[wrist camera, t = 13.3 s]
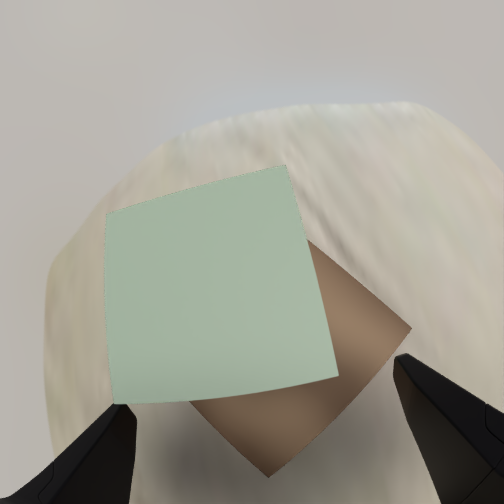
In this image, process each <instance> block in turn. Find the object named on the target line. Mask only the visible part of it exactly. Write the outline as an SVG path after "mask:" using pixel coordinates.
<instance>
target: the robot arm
mask: <svg viewBox="0 0 504 504" xmlns="http://www.w3.org/2000/svg"><path fill="white" fill-rule="evenodd" d="M393 378H394V382H395V385H396V388H397V391H398V394H399V397H400V401H401V404H402V407H403V410H404V413H405V417H406V419H407V422H408V424H409V427H410V429H411V431H412V433H413V436H414V438H415V440H416V443H417V445H418V447H419V450H420V452H421V454H422V457H423V459H424V461H425V464H426V466H427V469H428V471H429V474H430V476H431V479H432V481H433V484H434V486H435V489H436V491H437V494H438V497H439V499H440V502H441V504H504V413H502V412H500V411H499V410H497V409H495V408H494V407H492V406H491V405H489V404H486V403H485V402H484V401H482V400H481V399H479V398H478V397H476V396H474V395H473V394H471V393H470V392H468V391H467V390H465V389H463V388H462V387H460V386H459V385H457V384H455V383H454V382H452V381H451V380H449V379H448V378H446V377H444V376H443V375H441V374H440V373H438V372H436V371H435V370H433V369H432V368H430V367H429V366H427V365H425V364H424V363H422V362H421V361H419V360H417V359H416V358H414V357H413V356H411V355H410V354H407V353H404V354H401V355H398V356H396V357H395V359H394V369H393ZM136 432H137V419H136V416H135V415H134V413H133V412H132V411H131V409H130V408H129V407H128V405H127V404H114V403H113V404H112V405H111V406H110V407H109V408H108V409H107V410H106V411H105V412H104V413H103V414H102V415H101V416H100V417H99V418H98V419H97V420H95V421H94V422H93V423H92V424H91V425H90V426H89V427H88V428H87V429H86V430H85V431H84V432H83V433H82V434H81V435H80V436H79V437H78V438H77V439H76V440H75V441H74V442H73V443H72V444H70V445H69V446H68V447H67V448H66V449H65V450H64V451H63V452H62V453H61V454H60V455H59V456H58V457H57V458H56V459H55V460H54V461H53V462H52V463H50V465H48V466H47V467H46V468H45V469H44V470H43V471H42V472H41V473H40V474H39V475H37V476H36V477H35V478H33V479H32V480H31V481H30V482H28V483H27V484H26V485H24V486H23V487H22V488H20V489H19V490H18V491H17V492H15V493H14V494H12V495H11V496H9V497H6V498H1V499H0V504H129V499H130V491H131V483H132V476H133V469H134V462H135V452H136Z"/></svg>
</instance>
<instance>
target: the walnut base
mask: <svg viewBox="0 0 504 504" xmlns="http://www.w3.org/2000/svg"><path fill="white" fill-rule="evenodd" d="M307 241H308V245H309V249H310V253H311V257H312V261H313V264H314V268H315V272H316V276H317V280H318V284H319V289H320V293H321V297H322V301H323V305H324V310H325V314H326V318H327V323H328V327H329V332H330V336H331V341H332V345H333V350H334V355H335V359H336V364H337V369H338V374H339V376H336V377H332V378H328V379H323V380H319V381H315V382H310V383H305V384H301V385H296V386H291V387H286V388H280V389H275V390H269V391H263V392H257V393H251V394H244V395H237V396H230V397H222V398H213V399H204V400H193V401H189V402H190V403H191V404H192V405H193V406H194V407H195V408H196V409H197V410H198V411H199V412H200V413H201V415H202V416H203V417H204V418H205V419H206V420H207V421H208V422H209V423H210V424H211V425H212V426H213V427H214V428H215V429H216V430H217V431H218V432H219V433H220V434H221V435H222V436H223V437H224V438H225V439H226V440H227V441H228V442H229V443H230V444H231V445H233V446H234V447H235V448H236V449H237V450H238V451H239V452H240V453H241V454H242V455H243V456H244V457H245V458H247V459H248V460H249V461H250V462H251V463H252V464H253V465H254V466H255V467H257V468H258V469H259V470H260V471H261V472H262V473H264V474H265V475H266V476H267V477H268V478H269V477H270V476H271V475H273V474H274V473H275V472H276V471H278V470H279V469H280V468H281V467H283V466H284V465H285V464H286V463H287V462H289V461H290V460H291V459H292V458H293V457H294V456H296V455H297V454H298V453H299V452H300V451H301V450H302V449H304V448H305V447H306V446H307V445H308V444H309V443H310V442H311V441H312V440H313V439H314V438H316V437H317V436H318V435H319V434H320V433H321V432H322V431H323V430H324V429H325V428H326V427H327V426H328V425H329V424H330V423H331V422H332V421H333V420H334V419H335V418H336V417H337V416H338V415H339V414H340V413H341V412H342V411H343V410H344V409H345V408H346V407H347V406H348V405H349V404H350V403H351V402H352V400H353V399H354V398H355V397H356V396H357V395H358V394H359V393H360V392H361V391H362V390H363V388H364V387H365V386H366V385H367V384H368V383H369V382H370V380H371V379H372V378H373V377H374V376H375V375H376V374H377V372H378V371H379V370H380V369H381V368H382V366H383V365H384V364H385V363H386V361H387V360H388V359H389V358H390V357H391V355H392V354H393V353H394V351H395V350H396V349H397V348H398V346H399V345H400V344H401V342H402V341H403V340H404V339H405V337H406V336H407V335H408V333H409V332H410V330H411V329H412V328H411V327H410V326H409V325H408V324H407V323H406V322H405V321H403V320H402V319H401V318H400V317H399V316H398V315H397V314H396V313H394V312H393V311H392V310H391V309H390V308H389V307H388V306H386V305H385V304H384V303H383V302H382V301H381V300H379V299H378V298H377V297H376V296H375V295H374V294H372V293H371V292H370V291H369V290H368V289H367V288H365V287H364V286H363V285H362V284H361V283H360V282H358V281H357V280H356V279H355V278H354V277H352V276H351V275H350V274H349V273H348V272H346V271H345V270H344V269H343V268H342V267H340V266H339V265H338V264H337V263H336V262H334V261H333V260H332V259H331V258H330V257H328V256H327V255H326V254H325V253H323V252H322V251H321V250H320V249H319V248H317V247H316V246H315V245H314V244H312V243H311V242H310V241H309V240H307Z"/></svg>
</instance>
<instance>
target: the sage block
mask: <svg viewBox="0 0 504 504" xmlns="http://www.w3.org/2000/svg"><path fill="white" fill-rule="evenodd" d="M104 293H105V320H106V337H107V350H108V360H109V370H110V379H111V387H112V394H113V401H114V404H146V403H167V402H181V401H193V400H204V399H213V398H222V397H230V396H237V395H244V394H251V393H257V392H263V391H269V390H275V389H280V388H286V387H291V386H296V385H301V384H305V383H310V382H315V381H319V380H323V379H328V378H332V377H336V376H339V374H338V369H337V364H336V359H335V355H334V350H333V345H332V341H331V336H330V332H329V327H328V323H327V318H326V314H325V310H324V305H323V301H322V297H321V293H320V289H319V284H318V280H317V276H316V272H315V268H314V264H313V261H312V257H311V253H310V249H309V245H308V241H307V238H306V234H305V230H304V227H303V223H302V219H301V216H300V212H299V209H298V205H297V202H296V198H295V195H294V191H293V188H292V184H291V181H290V178H289V174H288V171H287V168H286V165H283V166H278V167H273V168H269V169H265V170H260V171H256V172H252V173H248V174H243V175H239V176H235V177H231V178H227V179H223V180H220V181H216V182H212V183H208V184H204V185H201V186H197V187H193V188H190V189H186V190H183V191H179V192H176V193H172V194H169V195H165V196H162V197H159V198H155V199H152V200H149V201H145V202H142V203H139V204H136V205H133V206H130V207H126V208H123V209H120V210H117V211H114V212H111V213H108V214H106V228H105V256H104Z"/></svg>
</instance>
